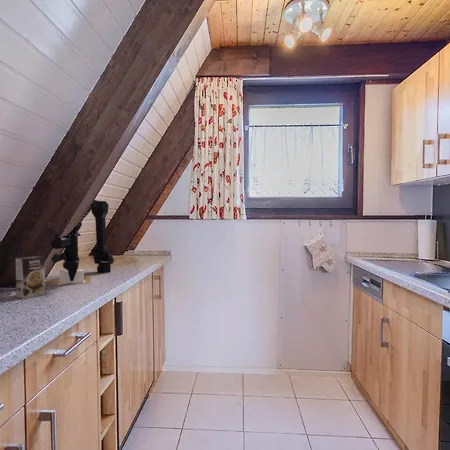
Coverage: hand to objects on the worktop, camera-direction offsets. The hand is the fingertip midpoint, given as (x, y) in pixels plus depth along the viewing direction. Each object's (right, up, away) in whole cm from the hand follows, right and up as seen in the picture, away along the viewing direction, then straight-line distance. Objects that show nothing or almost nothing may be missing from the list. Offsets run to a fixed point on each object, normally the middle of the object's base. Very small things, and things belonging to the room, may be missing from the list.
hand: (72, 279), depth 165 cm
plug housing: (0, -1, 0) cm, 1 cm away
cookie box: (-9, -4, -18) cm, 20 cm away
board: (-3, -3, +4) cm, 6 cm away
